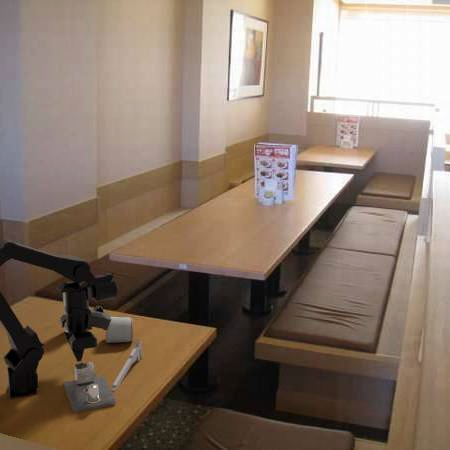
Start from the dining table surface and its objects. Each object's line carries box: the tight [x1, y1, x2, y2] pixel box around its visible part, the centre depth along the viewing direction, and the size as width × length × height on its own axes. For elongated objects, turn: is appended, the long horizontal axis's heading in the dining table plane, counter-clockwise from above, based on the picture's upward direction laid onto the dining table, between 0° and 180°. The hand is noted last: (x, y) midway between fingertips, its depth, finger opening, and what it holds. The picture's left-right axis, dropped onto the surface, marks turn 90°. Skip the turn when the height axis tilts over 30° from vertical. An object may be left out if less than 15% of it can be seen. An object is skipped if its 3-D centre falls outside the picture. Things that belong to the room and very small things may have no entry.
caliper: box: [110, 338, 143, 392], centre depth 170 cm, size 20×1×6 cm, turn 168°
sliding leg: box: [74, 361, 96, 384], centre depth 162 cm, size 4×3×4 cm
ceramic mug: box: [105, 316, 134, 344], centre depth 192 cm, size 11×8×8 cm
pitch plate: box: [63, 375, 116, 413], centre depth 158 cm, size 10×13×5 cm
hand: (79, 360), depth 168 cm, fingers closed
